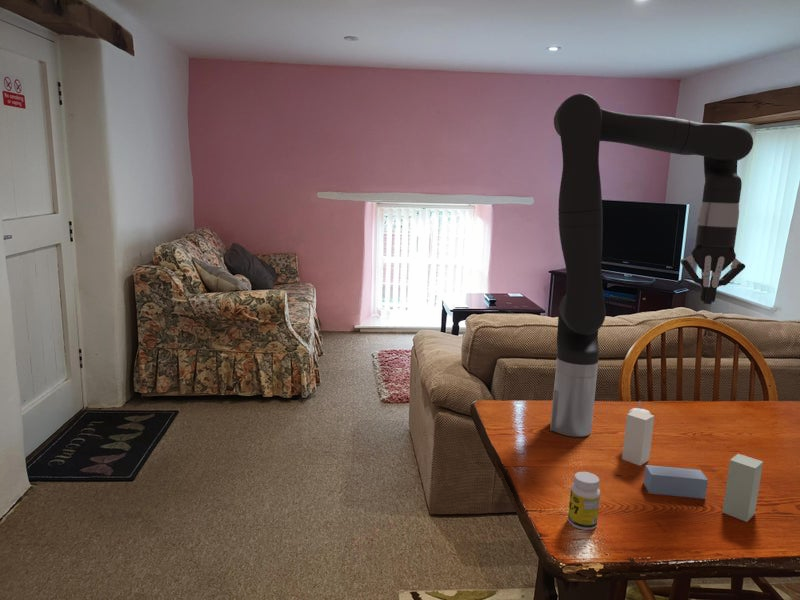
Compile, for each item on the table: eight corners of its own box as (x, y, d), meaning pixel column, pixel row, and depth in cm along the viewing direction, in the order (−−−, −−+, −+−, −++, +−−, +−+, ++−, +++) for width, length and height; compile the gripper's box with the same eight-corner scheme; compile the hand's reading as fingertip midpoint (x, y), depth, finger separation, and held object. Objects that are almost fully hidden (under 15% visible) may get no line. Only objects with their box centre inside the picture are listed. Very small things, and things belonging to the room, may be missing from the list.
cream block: (621, 459, 125) (626, 414, 123) (630, 453, 127) (635, 409, 126) (640, 465, 122) (645, 420, 120) (649, 460, 125) (654, 415, 123)
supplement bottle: (563, 515, 102) (567, 470, 101) (590, 515, 103) (594, 470, 101) (573, 531, 97) (578, 484, 96) (601, 530, 98) (606, 483, 96)
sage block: (722, 512, 105) (730, 459, 103) (730, 504, 108) (738, 453, 106) (746, 522, 102) (755, 468, 100) (754, 514, 105) (763, 461, 103)
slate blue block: (697, 489, 113) (643, 484, 115) (700, 469, 113) (645, 464, 114) (705, 499, 110) (648, 494, 111) (707, 479, 109) (651, 474, 110)
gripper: (686, 223, 125) (676, 303, 128) (756, 226, 121) (744, 309, 124) (681, 222, 132) (671, 298, 135) (747, 225, 128) (736, 303, 131)
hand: (706, 303), depth 130 cm, fingers closed
